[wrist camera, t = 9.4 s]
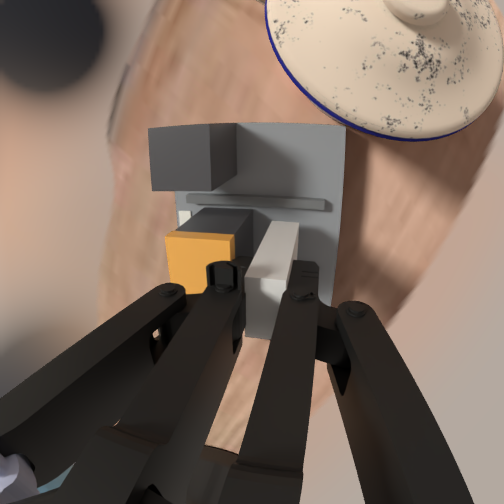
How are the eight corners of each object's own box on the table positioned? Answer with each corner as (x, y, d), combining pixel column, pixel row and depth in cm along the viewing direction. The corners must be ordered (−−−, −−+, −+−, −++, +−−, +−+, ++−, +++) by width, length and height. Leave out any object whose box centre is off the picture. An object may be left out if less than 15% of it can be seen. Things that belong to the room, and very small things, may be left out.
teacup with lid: (455, 56, 13) (569, 16, 3) (386, 162, 17) (468, 219, 7) (292, -41, 13) (257, -156, 2) (221, 61, 17) (108, 9, 6)
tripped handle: (254, 257, 19) (232, 302, 15) (206, 253, 20) (172, 294, 15) (253, 208, 18) (229, 240, 13) (203, 206, 19) (164, 236, 14)
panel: (327, 312, 22) (325, 375, 16) (197, 299, 24) (161, 351, 18) (342, 125, 17) (355, 127, 11) (184, 125, 19) (130, 130, 13)
